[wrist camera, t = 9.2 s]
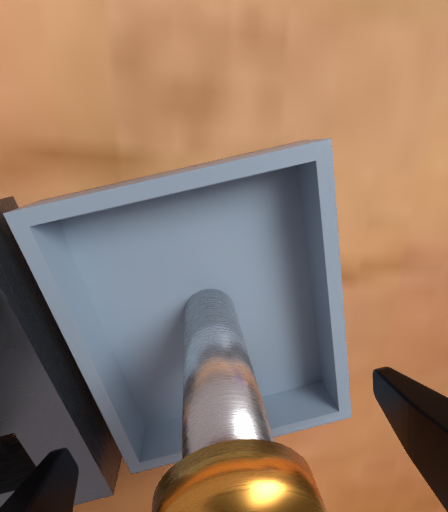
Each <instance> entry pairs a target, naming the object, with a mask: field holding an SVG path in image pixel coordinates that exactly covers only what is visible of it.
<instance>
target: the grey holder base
mask: <svg viewBox="0 0 448 512" xmlns="http://www.w3.org/2000/svg"><path fill="white" fill-rule="evenodd" d="M17 208H18V206H17V204H16V202H15V200H14V197H13V196H12V197H7V198H3V199H0V507H1V506H2V505H3V504H4V502H5V501H6V500H7V499H8V498H9V497H10V496H11V495H12V494H13V492H14V491H15V490H16V489H17V488H18V487H19V486H20V485H21V483H22V482H23V481H24V480H25V479H26V478H27V477H28V476H29V475H30V473H31V472H32V471H33V470H34V469H35V468H36V467H37V466H38V464H39V463H40V462H41V461H42V460H43V459H44V458H45V457H46V456H47V454H48V453H50V452H51V451H53V450H56V449H60V448H67V449H68V450H69V451H70V453H71V455H72V456H73V458H74V460H75V461H76V463H77V465H78V468H79V476H78V482H77V488H76V494H75V500H74V505H77V504H81V503H85V502H89V501H92V500H96V499H100V498H104V497H108V496H112V495H114V490H115V486H116V481H117V477H118V472H119V468H120V463H121V459H122V454H121V452H120V450H119V448H118V446H117V444H116V442H115V440H114V438H113V436H112V434H111V432H110V430H109V428H108V426H107V424H106V422H105V420H104V418H103V416H102V414H101V411H100V409H99V407H98V405H97V403H96V401H95V399H94V397H93V395H92V393H91V391H90V389H89V387H88V385H87V383H86V381H85V379H84V377H83V375H82V373H81V371H80V369H79V367H78V365H77V363H76V361H75V359H74V357H73V355H72V353H71V351H70V349H69V347H68V345H67V342H66V340H65V338H64V336H63V334H62V332H61V330H60V328H59V326H58V324H57V322H56V320H55V318H54V316H53V314H52V312H51V310H50V308H49V306H48V304H47V302H46V300H45V298H44V296H43V294H42V292H41V290H40V288H39V286H38V284H37V282H36V280H35V278H34V275H33V273H32V271H31V269H30V267H29V265H28V263H27V261H26V259H25V257H24V255H23V253H22V251H21V249H20V247H19V245H18V243H17V241H16V239H15V237H14V235H13V233H12V231H11V229H10V227H9V225H8V223H7V221H6V219H5V217H4V215H3V213H6V212H9V211H12V210H15V209H17ZM12 433H14V434H15V435H16V437H17V438H15V439H13V437H12V436H11V434H12Z"/></svg>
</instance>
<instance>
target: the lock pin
mask: <svg viewBox="0 0 448 512" xmlns="http://www.w3.org/2000/svg"><path fill="white" fill-rule="evenodd" d="M152 512H327V511H326V508H325V506H324V503H323V500H322V498H321V495H320V493H319V490H318V487H317V485H316V482H315V480H314V477H313V474H312V472H311V469H310V467H309V465H308V464H307V462H306V461H305V460H304V458H303V457H302V456H300V455H299V454H298V453H297V452H295V451H294V450H292V449H291V448H289V447H287V446H284V445H282V444H279V443H276V442H274V438H273V435H272V431H271V428H270V425H269V421H268V418H267V415H266V411H265V408H264V404H263V401H262V398H261V394H260V391H259V387H258V384H257V381H256V377H255V374H254V370H253V367H252V364H251V360H250V357H249V354H248V350H247V347H246V343H245V340H244V337H243V333H242V330H241V326H240V323H239V320H238V316H237V313H236V310H235V306H234V303H233V301H232V299H231V298H230V296H229V295H227V294H226V293H225V292H223V291H221V290H217V289H204V290H201V291H199V292H197V293H195V294H194V295H192V296H191V297H190V298H189V300H188V301H187V303H186V306H185V311H184V359H183V410H182V459H181V460H180V461H179V462H177V463H176V464H175V465H174V466H173V467H171V468H170V469H169V470H168V471H167V472H166V474H165V475H164V476H163V477H162V479H161V480H160V482H159V483H158V485H157V487H156V490H155V492H154V496H153V502H152Z"/></svg>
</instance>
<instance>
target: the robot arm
mask: <svg viewBox="0 0 448 512" xmlns="http://www.w3.org/2000/svg"><path fill="white" fill-rule="evenodd" d="M373 391H374V395H375V398H376V400H377V401H378V403H379V405H380V407H381V408H382V410H383V412H384V414H385V416H386V417H387V419H388V421H389V423H390V424H391V426H392V428H393V430H394V431H395V433H396V435H397V437H398V439H399V440H400V442H401V444H402V446H403V447H404V449H405V451H406V452H407V454H408V455H409V457H410V458H411V460H412V461H413V463H414V464H415V466H416V467H417V469H418V470H419V472H420V473H421V475H422V476H423V477H424V479H425V480H426V482H427V483H428V485H429V486H430V488H431V489H432V490H433V492H434V493H435V495H436V496H437V498H438V499H439V501H440V502H441V503H442V505H443V506H444V508H445V509H446V511H447V512H448V398H447V397H446V396H444V395H442V394H440V393H438V392H436V391H434V390H432V389H430V388H428V387H426V386H424V385H423V384H421V383H419V382H417V381H415V380H413V379H411V378H409V377H407V376H405V375H403V374H401V373H400V372H398V371H396V370H394V369H392V368H390V367H382V368H378V369H375V370H374V371H373ZM78 476H79V468H78V465H77V463H76V461H75V460H74V458H73V456H72V455H71V453H70V451H69V450H68V449H67V448H60V449H56V450H53V451H51V452H50V453H48V454H47V456H46V457H45V458H44V459H43V460H42V461H41V462H40V463H39V464H38V466H37V467H36V468H35V469H34V470H33V471H32V472H31V473H30V475H29V476H28V477H27V478H26V479H25V480H24V481H23V482H22V483H21V485H20V486H19V487H18V488H17V489H16V490H15V491H14V492H13V494H12V495H11V496H10V497H9V498H8V499H7V500H6V501H5V502H4V504H3V505H2V506H1V507H0V512H73V506H74V500H75V494H76V488H77V482H78Z"/></svg>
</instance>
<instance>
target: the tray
mask: <svg viewBox="0 0 448 512" xmlns="http://www.w3.org/2000/svg"><path fill="white" fill-rule="evenodd" d="M3 215H4V217H5V219H6V221H7V223H8V225H9V227H10V229H11V231H12V233H13V235H14V237H15V239H16V241H17V243H18V245H19V247H20V249H21V251H22V253H23V255H24V257H25V259H26V261H27V263H28V265H29V267H30V269H31V271H32V273H33V275H34V278H35V280H36V282H37V284H38V286H39V288H40V290H41V292H42V294H43V296H44V298H45V300H46V302H47V304H48V306H49V308H50V310H51V312H52V314H53V316H54V318H55V320H56V322H57V324H58V326H59V328H60V330H61V332H62V334H63V336H64V338H65V340H66V342H67V345H68V347H69V349H70V351H71V353H72V355H73V357H74V359H75V361H76V363H77V365H78V367H79V369H80V371H81V373H82V375H83V377H84V379H85V381H86V383H87V385H88V387H89V389H90V391H91V393H92V395H93V397H94V399H95V401H96V403H97V405H98V407H99V409H100V411H101V414H102V416H103V418H104V420H105V422H106V424H107V426H108V428H109V430H110V432H111V434H112V436H113V438H114V440H115V442H116V444H117V446H118V448H119V450H120V452H121V454H122V456H123V458H124V460H125V462H126V464H127V466H128V468H129V470H130V472H131V474H133V473H137V472H141V471H145V470H149V469H153V468H156V467H160V466H164V465H168V464H172V463H176V462H179V461H180V460H181V459H182V410H183V359H184V311H185V306H186V303H187V301H188V300H189V298H190V297H191V296H192V295H194V294H195V293H197V292H199V291H201V290H204V289H217V290H221V291H223V292H225V293H226V294H227V295H229V296H230V298H231V299H232V301H233V303H234V306H235V310H236V313H237V316H238V320H239V323H240V326H241V330H242V333H243V337H244V340H245V343H246V347H247V350H248V354H249V357H250V360H251V364H252V367H253V370H254V374H255V377H256V381H257V384H258V387H259V391H260V394H261V398H262V401H263V404H264V408H265V411H266V415H267V418H268V421H269V425H270V428H271V431H272V435H273V437H277V436H281V435H285V434H288V433H292V432H296V431H300V430H304V429H308V428H312V427H316V426H319V425H323V424H327V423H331V422H335V421H339V420H343V419H347V418H351V417H352V415H351V402H350V388H349V374H348V360H347V346H346V333H345V319H344V305H343V291H342V277H341V263H340V250H339V236H338V222H337V208H336V194H335V180H334V167H333V153H332V139H331V138H330V139H316V140H304V141H300V142H295V143H291V144H286V145H282V146H278V147H273V148H269V149H265V150H260V151H256V152H251V153H247V154H243V155H238V156H234V157H230V158H225V159H221V160H216V161H212V162H208V163H203V164H199V165H194V166H190V167H186V168H181V169H177V170H173V171H168V172H164V173H159V174H155V175H151V176H146V177H142V178H138V179H133V180H129V181H124V182H120V183H116V184H111V185H107V186H102V187H98V188H94V189H89V190H85V191H81V192H76V193H72V194H67V195H63V196H59V197H54V198H50V199H46V200H41V201H38V202H35V203H32V204H29V205H26V206H23V207H20V208H17V209H15V210H12V211H9V212H6V213H3Z"/></svg>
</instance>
